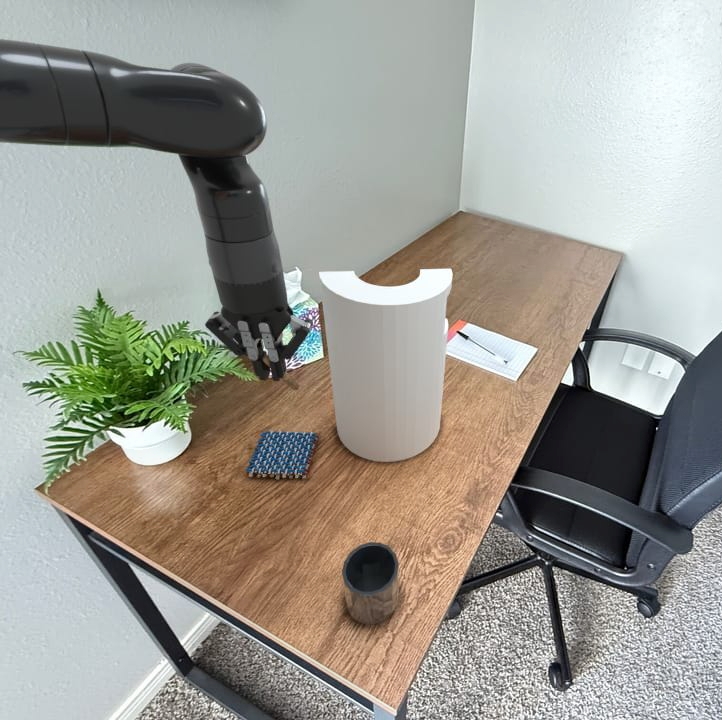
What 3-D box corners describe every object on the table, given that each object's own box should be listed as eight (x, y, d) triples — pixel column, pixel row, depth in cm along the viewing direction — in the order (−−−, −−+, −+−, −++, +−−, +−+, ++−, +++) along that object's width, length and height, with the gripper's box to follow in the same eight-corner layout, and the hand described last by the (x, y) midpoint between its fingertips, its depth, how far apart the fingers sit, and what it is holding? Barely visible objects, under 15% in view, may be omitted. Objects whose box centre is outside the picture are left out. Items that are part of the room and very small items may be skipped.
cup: (395, 625, 66) (394, 596, 60) (341, 624, 65) (336, 594, 60) (400, 574, 72) (401, 543, 66) (352, 572, 71) (348, 541, 65)
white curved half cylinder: (336, 424, 94) (438, 413, 100) (338, 469, 85) (449, 453, 91) (318, 269, 72) (450, 266, 78) (319, 308, 64) (466, 301, 70)
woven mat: (307, 481, 83) (306, 474, 81) (245, 479, 82) (243, 472, 80) (320, 437, 91) (319, 430, 90) (264, 435, 90) (262, 427, 88)
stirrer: (293, 386, 77) (281, 321, 69) (300, 386, 77) (289, 322, 69) (276, 424, 70) (260, 358, 62) (284, 425, 70) (269, 358, 62)
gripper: (314, 257, 58) (327, 364, 69) (202, 246, 57) (232, 356, 68) (297, 287, 52) (314, 398, 63) (171, 275, 51) (210, 391, 62)
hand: (271, 376), depth 65 cm, fingers closed on stirrer, 1 cm apart
